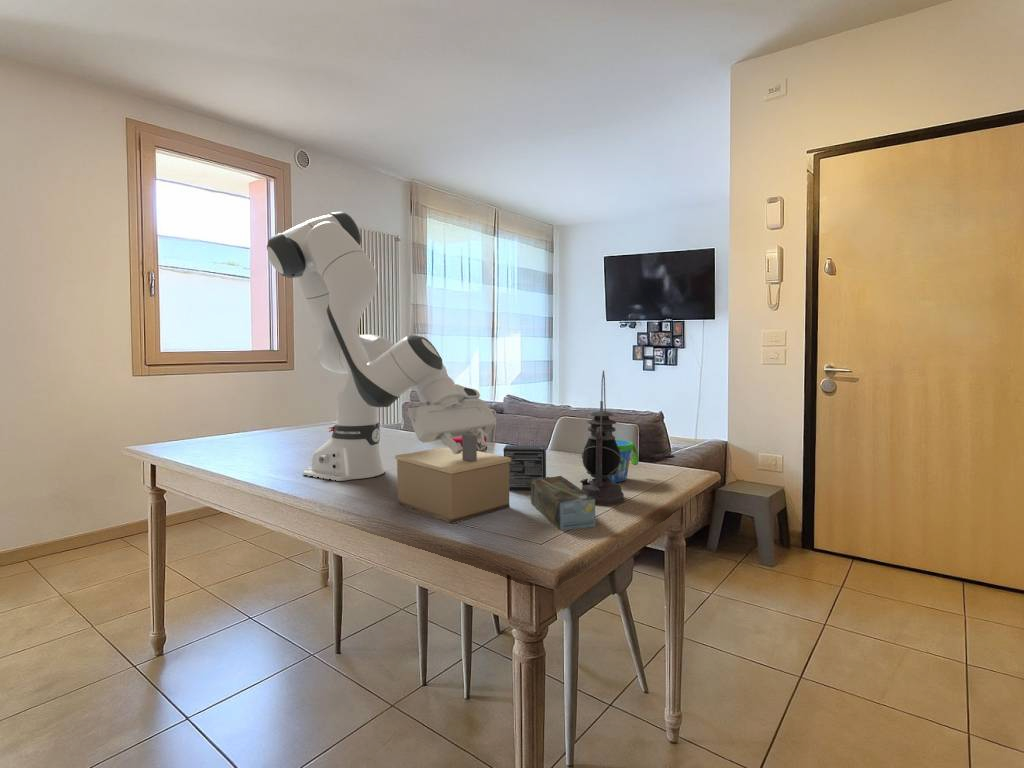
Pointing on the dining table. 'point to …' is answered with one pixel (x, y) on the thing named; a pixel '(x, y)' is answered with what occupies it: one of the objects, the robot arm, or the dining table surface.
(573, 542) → the dining table surface
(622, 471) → the snack cup
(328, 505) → the dining table surface
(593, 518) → the beverage carton
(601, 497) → the lantern
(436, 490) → the cardboard box
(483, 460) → the lid flap
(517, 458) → the small box
